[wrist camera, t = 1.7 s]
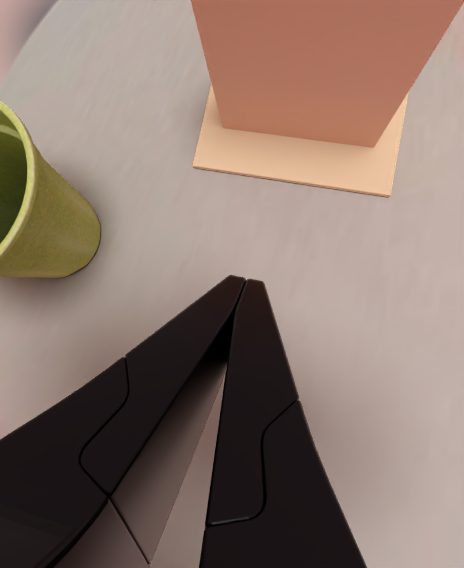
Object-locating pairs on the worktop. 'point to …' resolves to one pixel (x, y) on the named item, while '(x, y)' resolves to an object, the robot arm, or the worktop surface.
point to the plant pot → (39, 211)
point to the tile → (317, 62)
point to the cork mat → (300, 156)
